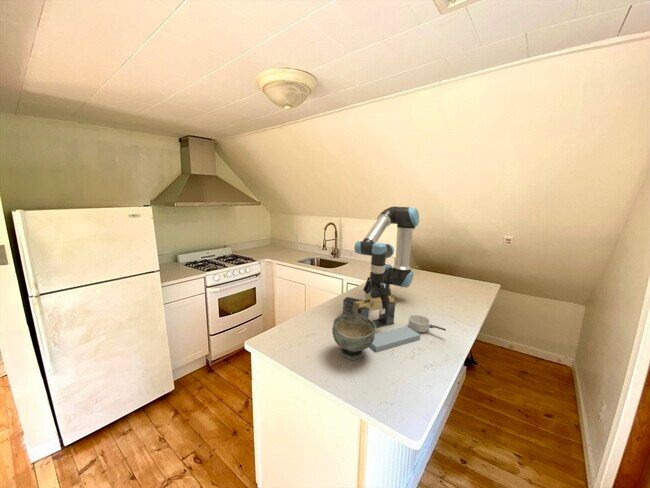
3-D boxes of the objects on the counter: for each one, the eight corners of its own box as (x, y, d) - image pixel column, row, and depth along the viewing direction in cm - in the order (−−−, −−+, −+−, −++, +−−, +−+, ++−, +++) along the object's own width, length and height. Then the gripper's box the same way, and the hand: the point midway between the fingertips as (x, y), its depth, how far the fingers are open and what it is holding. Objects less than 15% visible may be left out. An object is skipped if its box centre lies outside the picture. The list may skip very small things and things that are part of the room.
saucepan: (439, 343, 136) (440, 333, 135) (403, 328, 150) (404, 318, 149) (448, 335, 144) (449, 325, 143) (413, 322, 158) (414, 313, 157)
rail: (352, 310, 146) (353, 301, 145) (390, 303, 158) (391, 295, 157) (357, 313, 142) (357, 304, 141) (395, 306, 154) (396, 297, 153)
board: (363, 341, 135) (363, 336, 134) (406, 330, 147) (406, 326, 147) (376, 352, 126) (376, 347, 125) (420, 339, 138) (420, 334, 138)
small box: (362, 316, 163) (363, 299, 161) (359, 320, 157) (360, 303, 155) (346, 312, 167) (346, 296, 165) (342, 316, 161) (343, 299, 159)
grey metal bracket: (351, 326, 149) (353, 305, 147) (386, 318, 160) (387, 298, 158) (359, 332, 143) (360, 310, 141) (394, 323, 154) (396, 303, 152)
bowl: (343, 372, 111) (345, 338, 108) (324, 347, 128) (325, 317, 125) (383, 361, 119) (385, 330, 116) (360, 339, 136) (362, 311, 133)
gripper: (358, 266, 155) (356, 301, 159) (387, 279, 133) (383, 319, 137) (369, 265, 159) (366, 299, 163) (398, 278, 137) (395, 316, 141)
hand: (374, 308), depth 150 cm, fingers open, 13 cm apart
